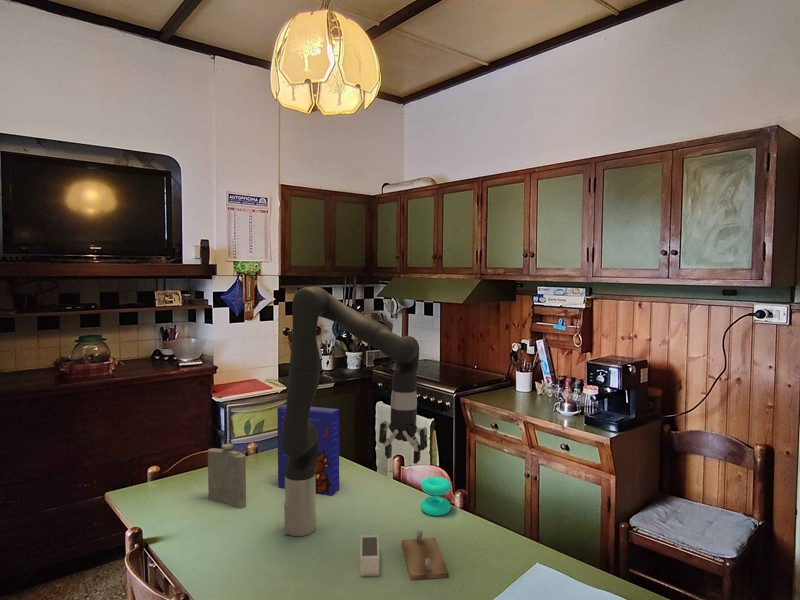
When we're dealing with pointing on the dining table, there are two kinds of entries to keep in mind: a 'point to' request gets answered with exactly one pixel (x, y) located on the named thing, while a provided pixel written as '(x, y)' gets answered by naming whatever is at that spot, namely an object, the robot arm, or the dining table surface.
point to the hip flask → (227, 476)
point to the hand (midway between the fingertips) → (402, 460)
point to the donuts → (435, 503)
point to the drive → (369, 555)
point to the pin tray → (424, 558)
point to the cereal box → (327, 449)
